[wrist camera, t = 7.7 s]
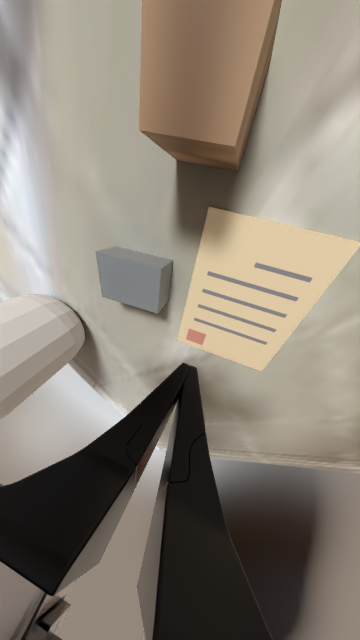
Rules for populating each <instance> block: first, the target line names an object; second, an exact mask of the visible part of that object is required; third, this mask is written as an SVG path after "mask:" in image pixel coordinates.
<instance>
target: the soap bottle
mask: <svg viewBox="0 0 360 640" xmlns="http://www.w3.org/2000/svg"><path fill="white" fill-rule="evenodd" d="M84 341H85V333H84V327H83V325H82V323H81V320H80V318H79V317H78V316H77V315H76V313H75V312H74V311H73V310H72V309H71V308H70V307H69V306H67V305H66V304H65V303H63V302H61V301H59V300H57V299H55V298H53V297H51V296H49V295H42V294H28V295H22V296H17V297H14V298H11V299H9V300H6V301H3V302H1V303H0V419H1V418H3V417H5V416H6V415H8V414H9V413H10V412H11V411H12V410H14V408H16V407H17V406H18V405H19V404H20V403H22V402H23V401H24V400H25V399H26V398H27V397H29V396H30V395H31V394H32V393H33V392H34V391H36V390H37V389H38V388H39V387H40V386H41V385H42V384H44V383H45V382H46V381H47V380H48V379H50V378H51V377H52V376H53V375H54V374H55V373H56V372H58V371H59V370H60V369H61V368H62V367H63V366H65V365H66V364H67V363H68V362H69V361H70V360H72V359H73V358H74V356H75V355H76V354H77V353H78V351H79V350H80V348H81V347H82V345H83V343H84Z"/></svg>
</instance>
